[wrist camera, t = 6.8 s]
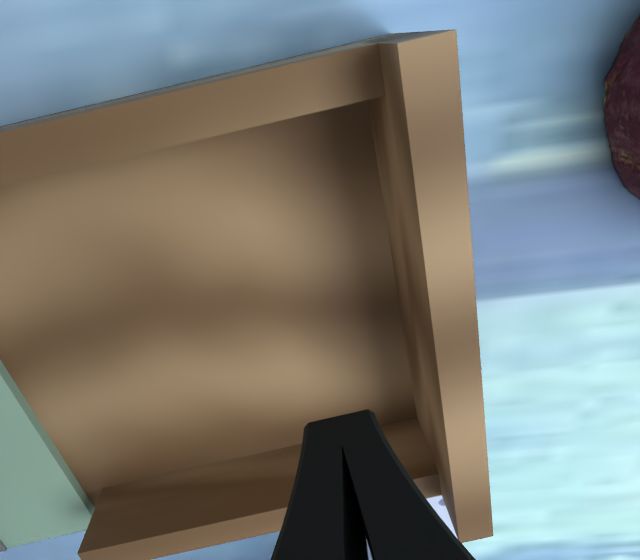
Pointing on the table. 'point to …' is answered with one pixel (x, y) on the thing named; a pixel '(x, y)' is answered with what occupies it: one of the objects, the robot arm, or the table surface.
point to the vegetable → (625, 110)
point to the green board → (34, 477)
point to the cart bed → (247, 288)
